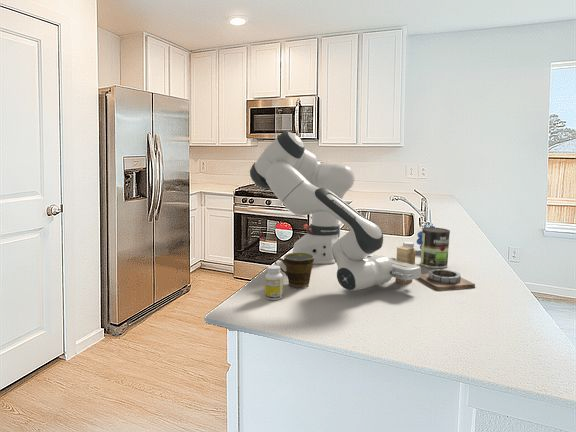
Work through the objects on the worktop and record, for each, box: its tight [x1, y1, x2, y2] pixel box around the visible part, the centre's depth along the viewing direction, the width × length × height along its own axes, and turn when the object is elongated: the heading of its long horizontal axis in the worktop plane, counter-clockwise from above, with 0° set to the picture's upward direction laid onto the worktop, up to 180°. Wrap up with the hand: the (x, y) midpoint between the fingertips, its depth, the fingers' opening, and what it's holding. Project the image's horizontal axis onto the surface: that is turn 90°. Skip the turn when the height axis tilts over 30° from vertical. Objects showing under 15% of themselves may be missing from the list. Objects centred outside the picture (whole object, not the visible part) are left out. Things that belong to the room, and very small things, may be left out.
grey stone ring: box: [428, 268, 462, 284], centre depth 151 cm, size 10×10×2 cm
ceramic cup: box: [274, 252, 314, 289], centre depth 146 cm, size 13×10×10 cm
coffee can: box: [419, 227, 451, 269], centre depth 172 cm, size 10×10×14 cm
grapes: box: [416, 225, 436, 250], centre depth 194 cm, size 12×7×12 cm, turn 44°
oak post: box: [395, 245, 415, 285], centre depth 151 cm, size 4×4×12 cm
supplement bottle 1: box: [264, 264, 284, 301], centre depth 135 cm, size 5×5×10 cm
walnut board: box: [416, 273, 476, 292], centre depth 151 cm, size 14×14×1 cm
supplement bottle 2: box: [402, 241, 416, 264], centre depth 169 cm, size 5×5×10 cm
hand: (405, 263), depth 151 cm, fingers open, 8 cm apart
